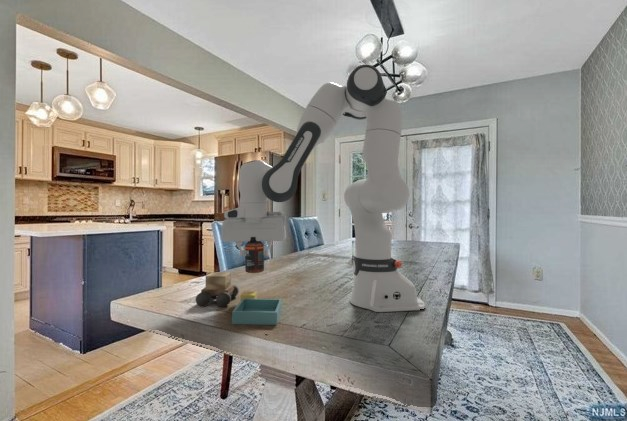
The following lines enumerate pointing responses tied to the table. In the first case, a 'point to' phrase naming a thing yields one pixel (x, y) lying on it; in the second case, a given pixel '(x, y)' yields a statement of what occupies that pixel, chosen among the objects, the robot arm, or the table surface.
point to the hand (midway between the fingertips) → (254, 255)
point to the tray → (257, 311)
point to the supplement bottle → (254, 256)
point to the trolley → (217, 289)
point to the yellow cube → (249, 295)
